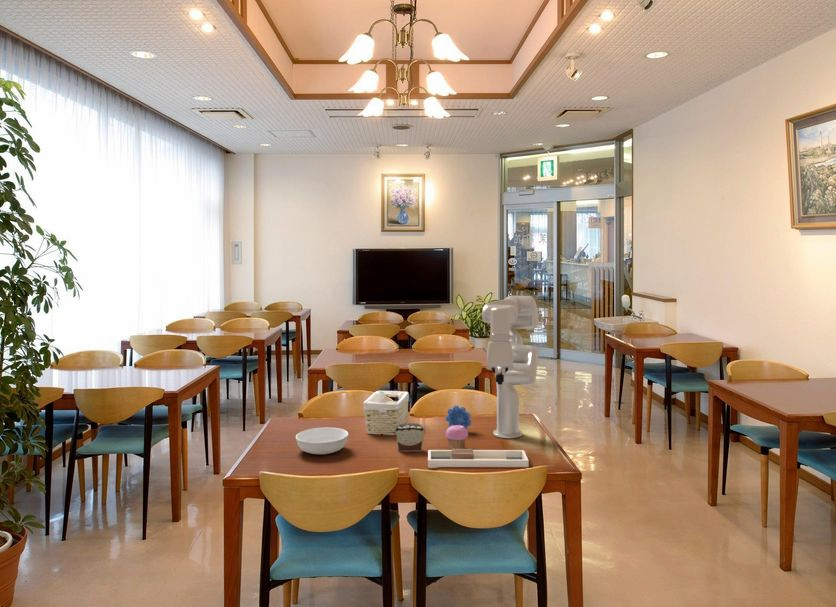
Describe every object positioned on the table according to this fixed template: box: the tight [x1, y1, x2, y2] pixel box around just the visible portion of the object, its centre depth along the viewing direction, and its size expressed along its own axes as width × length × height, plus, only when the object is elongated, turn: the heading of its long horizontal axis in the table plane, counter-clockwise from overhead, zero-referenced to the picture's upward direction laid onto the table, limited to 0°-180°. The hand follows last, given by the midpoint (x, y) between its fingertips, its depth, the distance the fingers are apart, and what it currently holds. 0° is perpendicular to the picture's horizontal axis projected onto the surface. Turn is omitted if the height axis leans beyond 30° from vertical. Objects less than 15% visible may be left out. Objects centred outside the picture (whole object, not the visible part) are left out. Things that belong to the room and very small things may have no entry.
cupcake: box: [445, 425, 469, 450], centre depth 258 cm, size 9×9×10 cm
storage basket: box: [363, 390, 410, 436], centre depth 290 cm, size 24×16×15 cm
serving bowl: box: [295, 426, 349, 456], centre depth 258 cm, size 21×21×7 cm
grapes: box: [445, 405, 472, 431], centre depth 282 cm, size 12×7×12 cm, turn 102°
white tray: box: [427, 449, 530, 469], centre depth 243 cm, size 12×37×3 cm, turn 89°
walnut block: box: [451, 448, 474, 459], centre depth 242 cm, size 6×8×4 cm
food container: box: [394, 422, 426, 452], centre depth 260 cm, size 12×6×10 cm, turn 92°
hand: (499, 383), depth 255 cm, fingers closed
